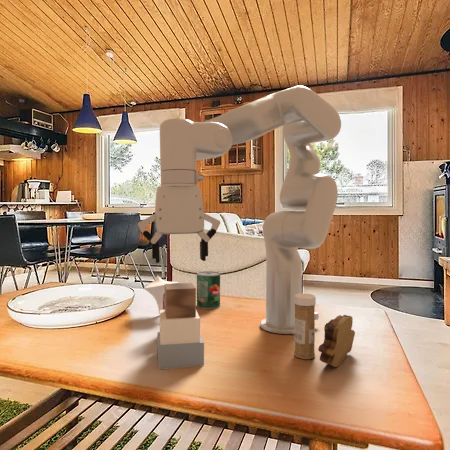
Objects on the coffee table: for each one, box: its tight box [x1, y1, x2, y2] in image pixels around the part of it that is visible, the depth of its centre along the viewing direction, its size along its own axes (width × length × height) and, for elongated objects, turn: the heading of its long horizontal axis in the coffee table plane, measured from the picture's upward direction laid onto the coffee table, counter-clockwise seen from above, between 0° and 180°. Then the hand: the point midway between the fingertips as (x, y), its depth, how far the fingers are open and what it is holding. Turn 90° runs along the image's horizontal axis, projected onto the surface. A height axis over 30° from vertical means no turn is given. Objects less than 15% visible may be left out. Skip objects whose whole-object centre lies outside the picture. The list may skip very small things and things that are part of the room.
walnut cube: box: [165, 282, 197, 319], centre depth 80 cm, size 6×6×6 cm
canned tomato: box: [196, 271, 221, 310], centre depth 125 cm, size 8×8×11 cm
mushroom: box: [142, 275, 179, 315], centre depth 114 cm, size 10×11×12 cm
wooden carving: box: [318, 314, 356, 368], centre depth 78 cm, size 16×5×10 cm, turn 150°
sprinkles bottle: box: [293, 292, 317, 360], centre depth 82 cm, size 5×5×13 cm
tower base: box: [156, 331, 205, 370], centre depth 80 cm, size 9×9×5 cm
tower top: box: [159, 309, 201, 345], centre depth 80 cm, size 8×8×5 cm
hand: (180, 261), depth 80 cm, fingers open, 9 cm apart
